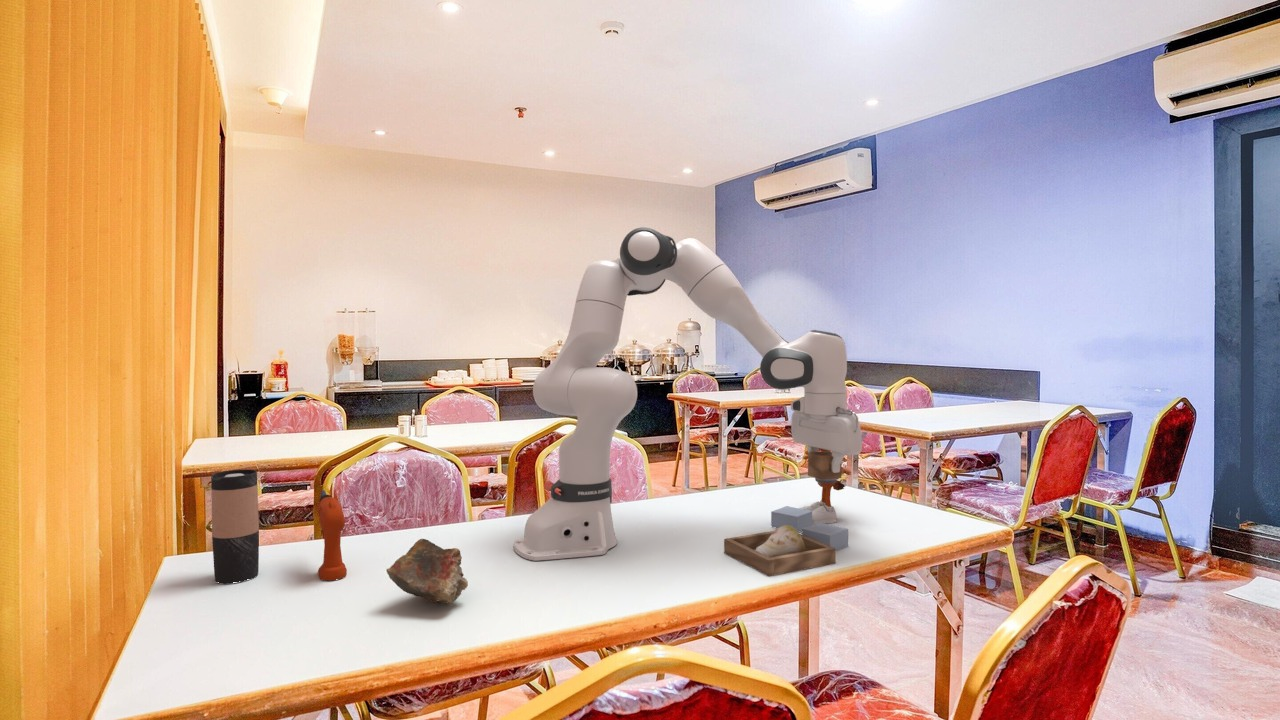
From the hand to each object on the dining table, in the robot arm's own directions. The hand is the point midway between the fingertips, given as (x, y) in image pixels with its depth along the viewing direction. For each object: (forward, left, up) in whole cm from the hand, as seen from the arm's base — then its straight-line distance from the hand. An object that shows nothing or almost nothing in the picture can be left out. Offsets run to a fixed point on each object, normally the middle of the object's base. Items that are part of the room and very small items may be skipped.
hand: (825, 469), depth 145 cm
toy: (+14, +17, -17) cm, 28 cm away
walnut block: (0, 0, -2) cm, 2 cm away
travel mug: (-113, +35, -17) cm, 119 cm away
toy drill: (-97, +33, -17) cm, 104 cm away
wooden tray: (-14, -2, -17) cm, 22 cm away
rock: (-81, +5, -17) cm, 83 cm away
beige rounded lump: (-16, -5, -17) cm, 24 cm away
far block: (+3, +15, -17) cm, 23 cm away
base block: (0, 0, -17) cm, 17 cm away
